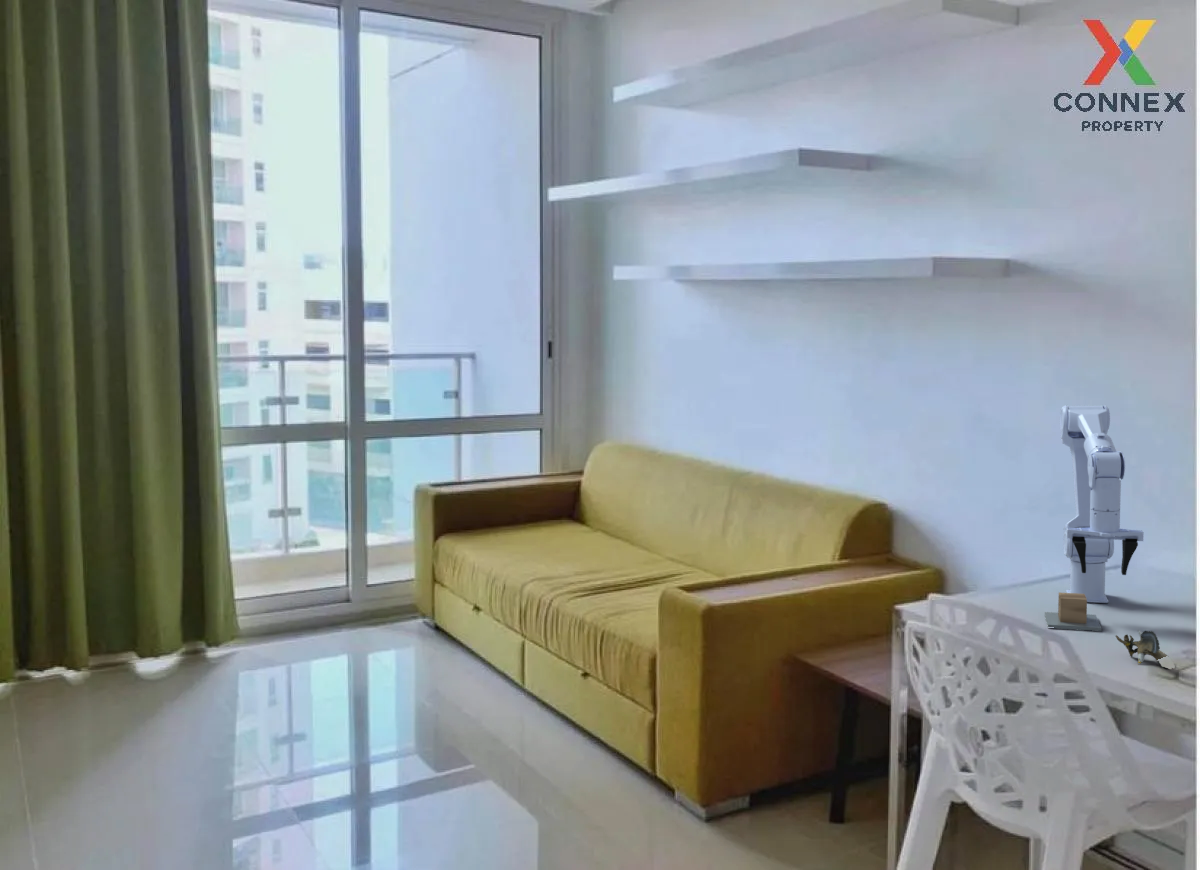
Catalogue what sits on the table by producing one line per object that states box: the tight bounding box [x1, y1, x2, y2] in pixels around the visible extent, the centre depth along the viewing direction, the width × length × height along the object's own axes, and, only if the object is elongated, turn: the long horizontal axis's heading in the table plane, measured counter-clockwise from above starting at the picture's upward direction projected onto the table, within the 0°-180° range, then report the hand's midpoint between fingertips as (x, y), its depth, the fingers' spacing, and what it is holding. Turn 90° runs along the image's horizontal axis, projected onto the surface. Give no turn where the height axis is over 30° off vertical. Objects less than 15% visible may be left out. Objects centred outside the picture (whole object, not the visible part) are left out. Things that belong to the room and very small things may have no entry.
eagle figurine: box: [1115, 630, 1168, 664], centre depth 202 cm, size 8×7×9 cm
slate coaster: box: [1044, 611, 1102, 632], centre depth 228 cm, size 10×10×1 cm
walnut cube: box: [1057, 592, 1088, 623], centre depth 228 cm, size 5×5×5 cm
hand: (1103, 573), depth 230 cm, fingers open, 7 cm apart
